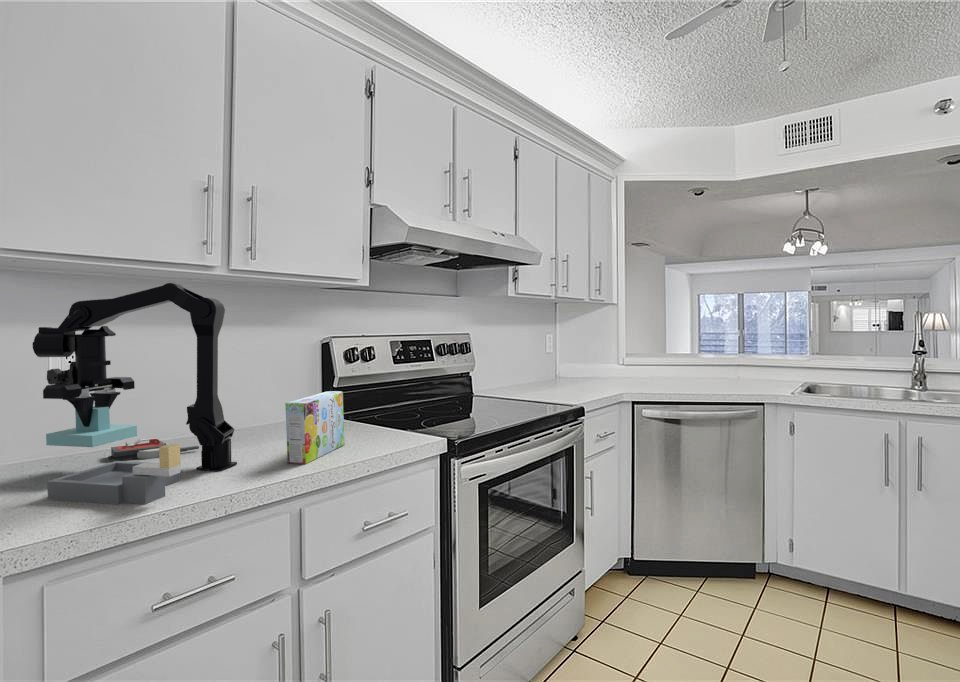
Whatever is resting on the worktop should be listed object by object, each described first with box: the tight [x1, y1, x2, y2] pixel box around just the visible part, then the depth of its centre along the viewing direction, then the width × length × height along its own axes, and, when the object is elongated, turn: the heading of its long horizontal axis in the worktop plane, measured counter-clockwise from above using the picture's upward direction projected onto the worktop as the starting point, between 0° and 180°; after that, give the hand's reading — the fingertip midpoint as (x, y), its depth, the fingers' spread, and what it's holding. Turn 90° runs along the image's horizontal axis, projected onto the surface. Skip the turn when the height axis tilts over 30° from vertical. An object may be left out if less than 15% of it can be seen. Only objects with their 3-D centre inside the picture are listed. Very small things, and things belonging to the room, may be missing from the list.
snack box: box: [284, 390, 346, 465], centre depth 145 cm, size 21×6×15 cm, turn 168°
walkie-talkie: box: [107, 437, 200, 462], centre depth 145 cm, size 9×4×20 cm
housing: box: [47, 460, 181, 505], centre depth 114 cm, size 16×21×5 cm
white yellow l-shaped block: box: [132, 443, 182, 477], centre depth 107 cm, size 3×8×6 cm, turn 79°
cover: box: [45, 406, 138, 448], centre depth 127 cm, size 12×12×8 cm
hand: (93, 425), depth 127 cm, fingers closed on cover, 3 cm apart
